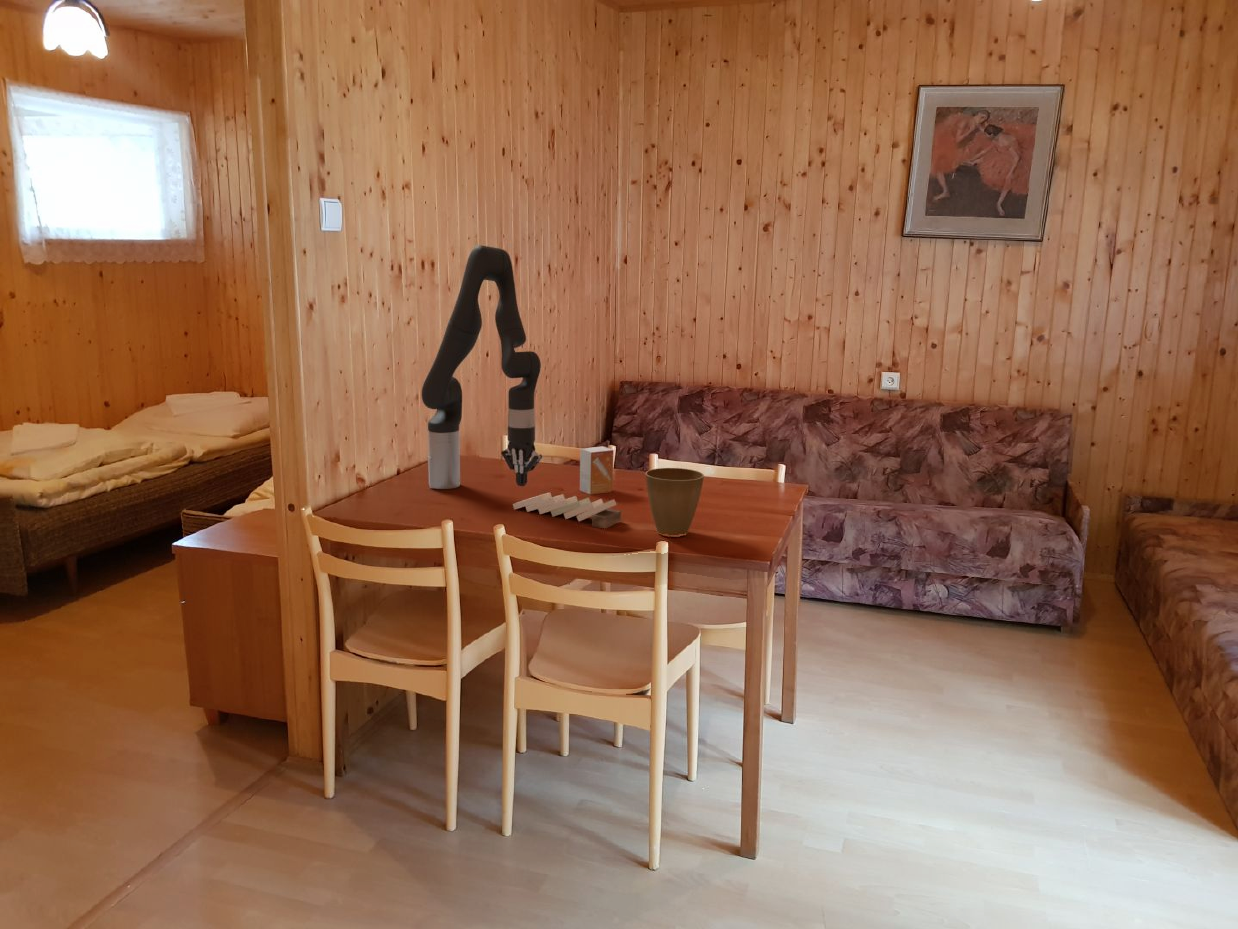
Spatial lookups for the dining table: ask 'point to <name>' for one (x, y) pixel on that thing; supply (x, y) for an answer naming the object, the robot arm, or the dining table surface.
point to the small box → (596, 470)
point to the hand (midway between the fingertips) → (521, 485)
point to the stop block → (606, 518)
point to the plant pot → (673, 498)
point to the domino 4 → (570, 507)
